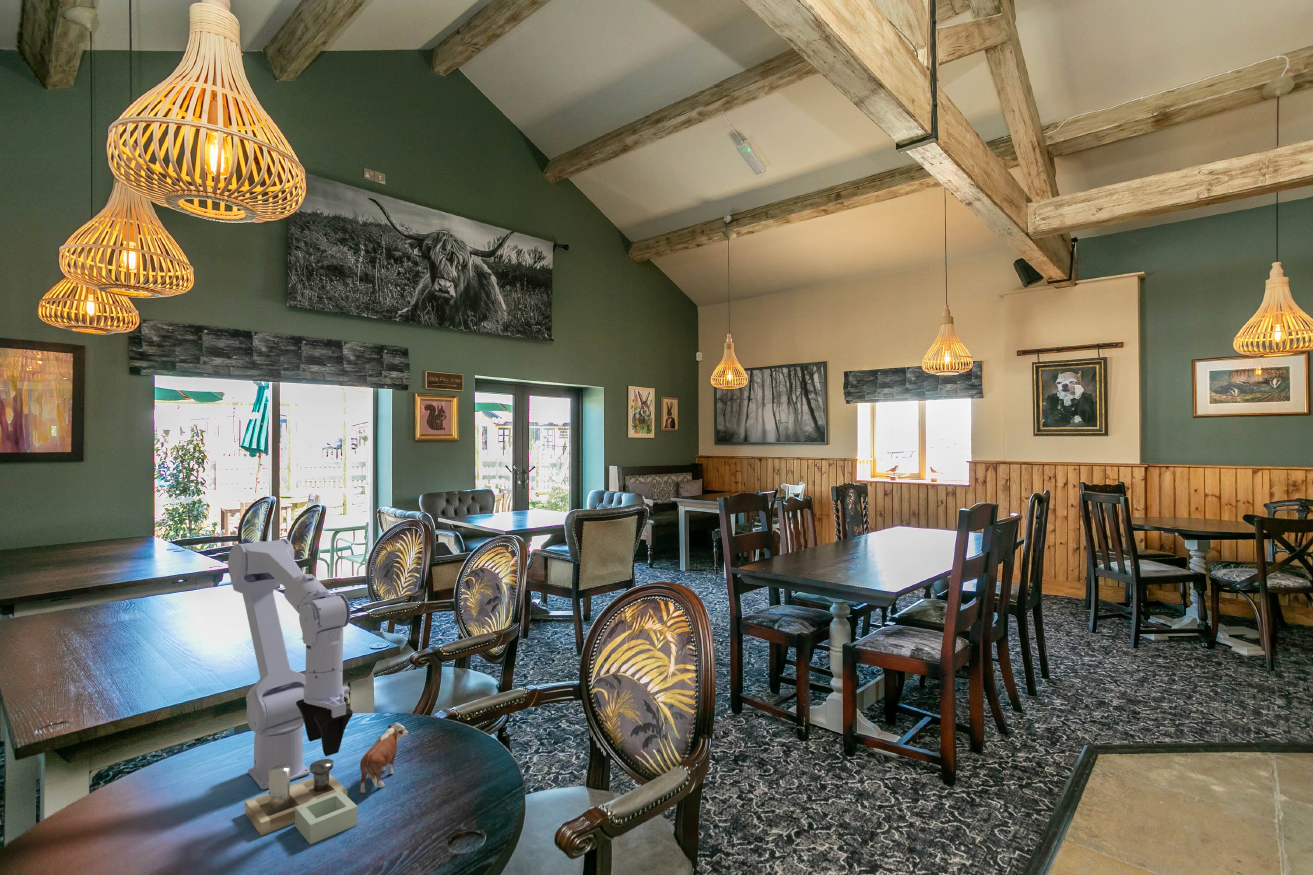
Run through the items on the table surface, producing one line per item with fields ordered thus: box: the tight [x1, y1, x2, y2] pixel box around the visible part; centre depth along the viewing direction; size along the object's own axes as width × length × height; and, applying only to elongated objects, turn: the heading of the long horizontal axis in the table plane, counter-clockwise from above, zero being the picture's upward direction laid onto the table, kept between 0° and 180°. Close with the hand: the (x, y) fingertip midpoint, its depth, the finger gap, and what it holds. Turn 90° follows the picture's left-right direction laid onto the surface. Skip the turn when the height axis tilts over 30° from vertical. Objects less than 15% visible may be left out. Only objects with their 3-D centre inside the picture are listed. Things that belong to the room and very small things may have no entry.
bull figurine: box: [359, 722, 409, 794], centre depth 117 cm, size 4×13×8 cm, turn 174°
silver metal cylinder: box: [267, 764, 291, 816], centre depth 104 cm, size 3×3×8 cm
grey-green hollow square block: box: [294, 790, 358, 845], centre depth 102 cm, size 7×7×3 cm
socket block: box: [244, 773, 348, 836], centre depth 107 cm, size 9×13×2 cm
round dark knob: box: [309, 758, 334, 792], centre depth 109 cm, size 4×4×4 cm
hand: (323, 746), depth 109 cm, fingers open, 7 cm apart
